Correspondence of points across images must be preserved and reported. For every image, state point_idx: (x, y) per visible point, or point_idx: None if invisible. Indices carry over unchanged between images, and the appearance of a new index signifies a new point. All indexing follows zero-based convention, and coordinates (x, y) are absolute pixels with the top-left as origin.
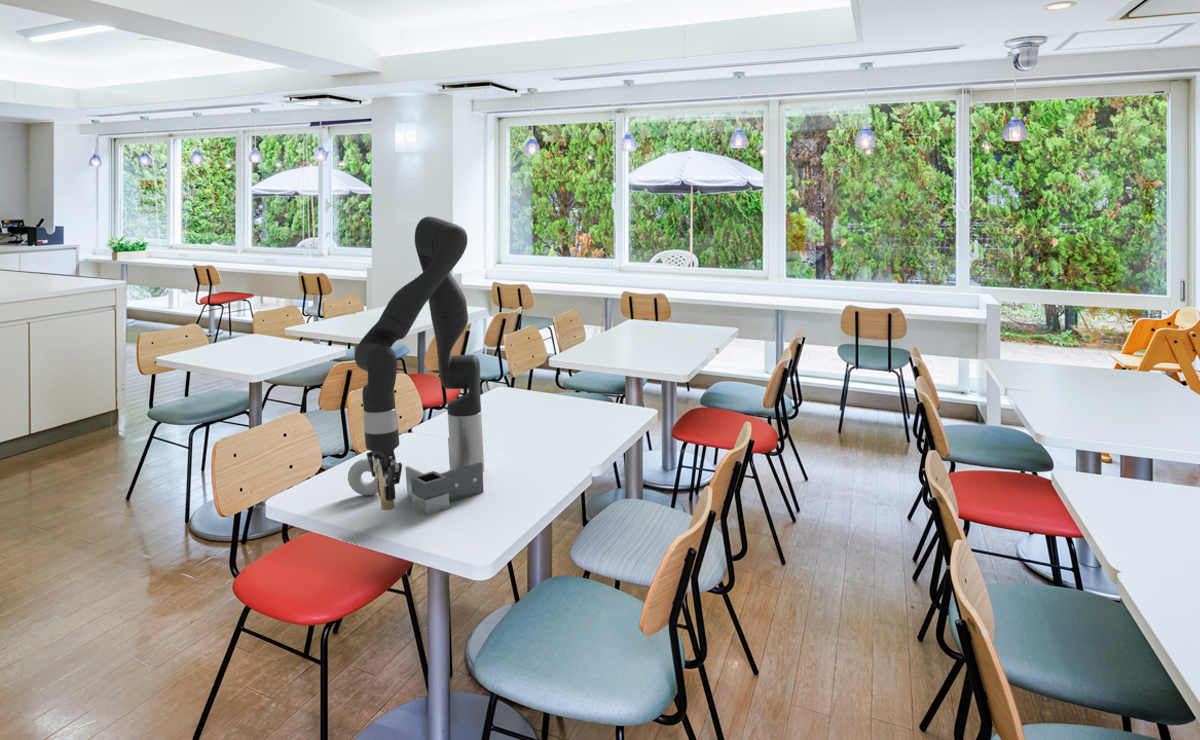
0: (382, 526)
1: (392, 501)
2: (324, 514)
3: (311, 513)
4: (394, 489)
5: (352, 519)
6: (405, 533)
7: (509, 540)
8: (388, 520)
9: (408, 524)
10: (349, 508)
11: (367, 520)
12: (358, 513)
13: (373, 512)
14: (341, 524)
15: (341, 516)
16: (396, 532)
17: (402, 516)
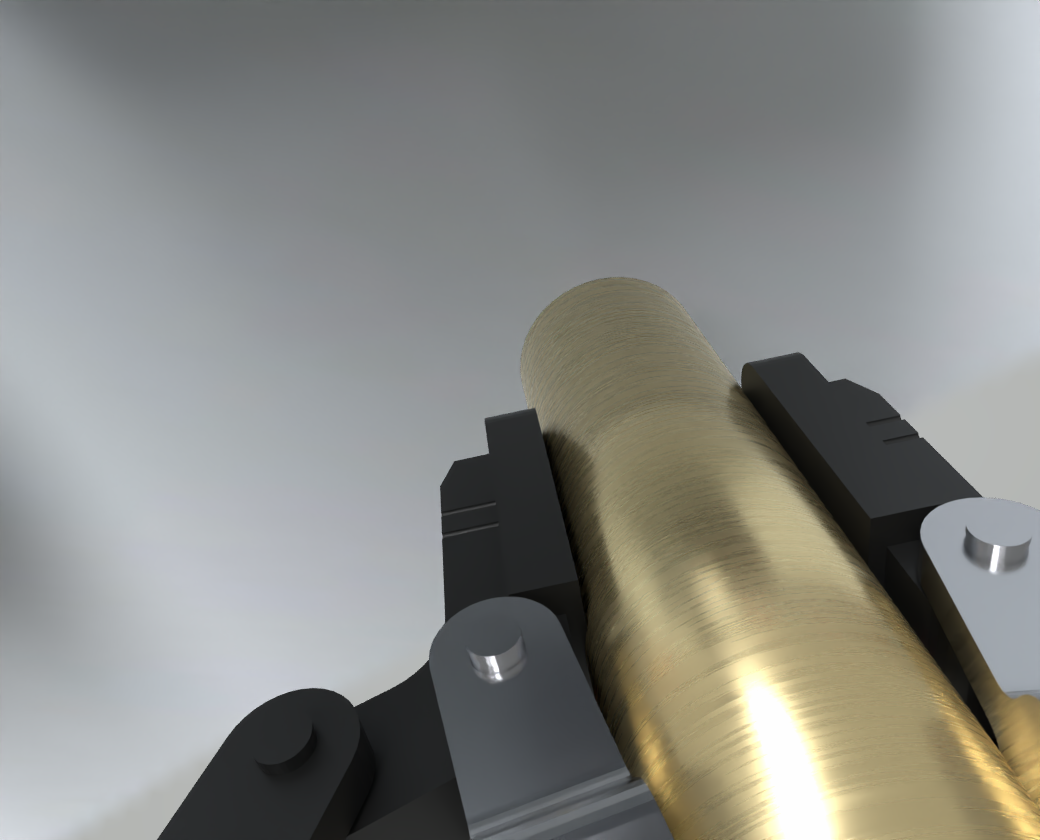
0: None
1: (719, 358)
2: (93, 737)
3: (26, 805)
4: (952, 467)
5: (337, 576)
6: (1026, 223)
7: None
8: None
9: (836, 119)
10: (7, 562)
11: (440, 472)
12: (198, 512)
13: (239, 382)
14: (407, 657)
15: (209, 640)
16: (928, 297)
17: (551, 111)
